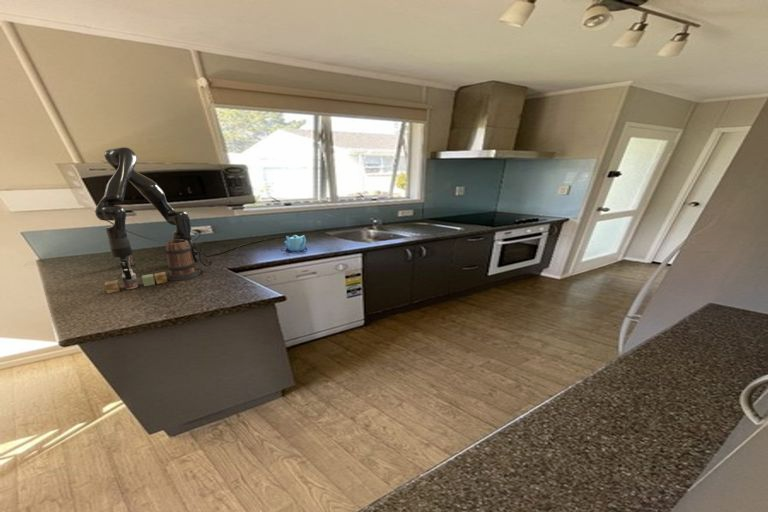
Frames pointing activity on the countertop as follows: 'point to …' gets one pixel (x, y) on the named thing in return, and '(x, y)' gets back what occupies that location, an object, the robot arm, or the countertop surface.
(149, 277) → the sage block
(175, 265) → the tankard
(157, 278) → the maple block
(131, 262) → the supplement bottle
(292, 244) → the teapot
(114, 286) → the birch block
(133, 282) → the pill bottle
